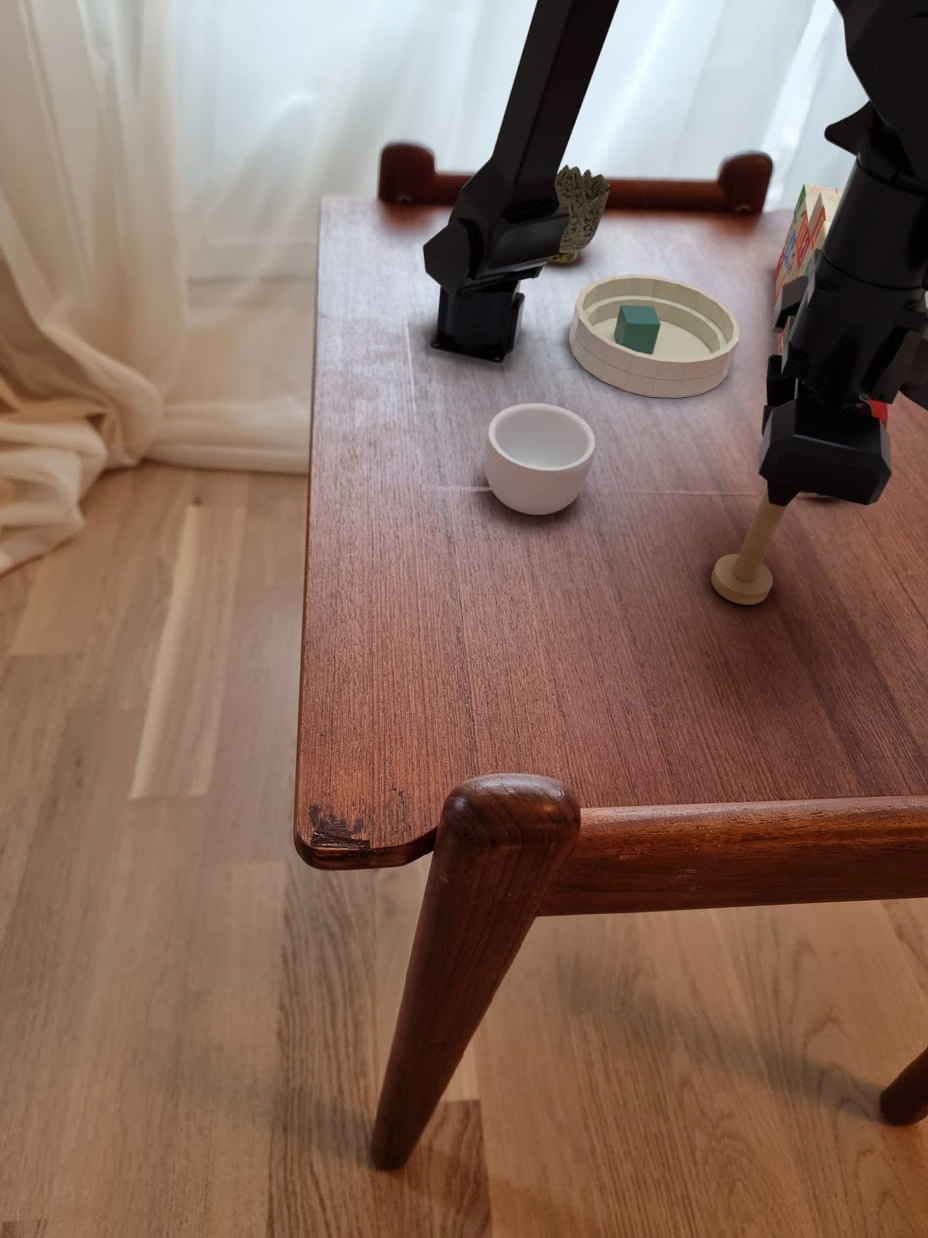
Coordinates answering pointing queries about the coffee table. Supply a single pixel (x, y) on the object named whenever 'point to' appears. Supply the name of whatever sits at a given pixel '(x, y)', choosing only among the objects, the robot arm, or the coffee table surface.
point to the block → (637, 328)
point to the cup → (579, 210)
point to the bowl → (686, 343)
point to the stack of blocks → (805, 236)
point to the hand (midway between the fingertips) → (777, 494)
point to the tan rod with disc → (749, 559)
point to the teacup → (538, 457)
